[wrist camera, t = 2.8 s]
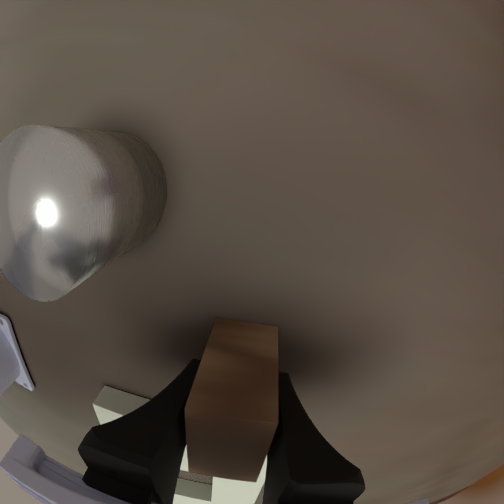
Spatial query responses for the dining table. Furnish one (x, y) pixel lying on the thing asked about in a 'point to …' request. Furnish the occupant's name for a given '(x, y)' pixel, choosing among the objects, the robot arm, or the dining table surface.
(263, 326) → the walnut bar
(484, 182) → the dining table surface
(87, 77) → the dining table surface
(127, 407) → the socket plate
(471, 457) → the dining table surface
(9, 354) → the robot arm
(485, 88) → the dining table surface
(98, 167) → the grey round peg
